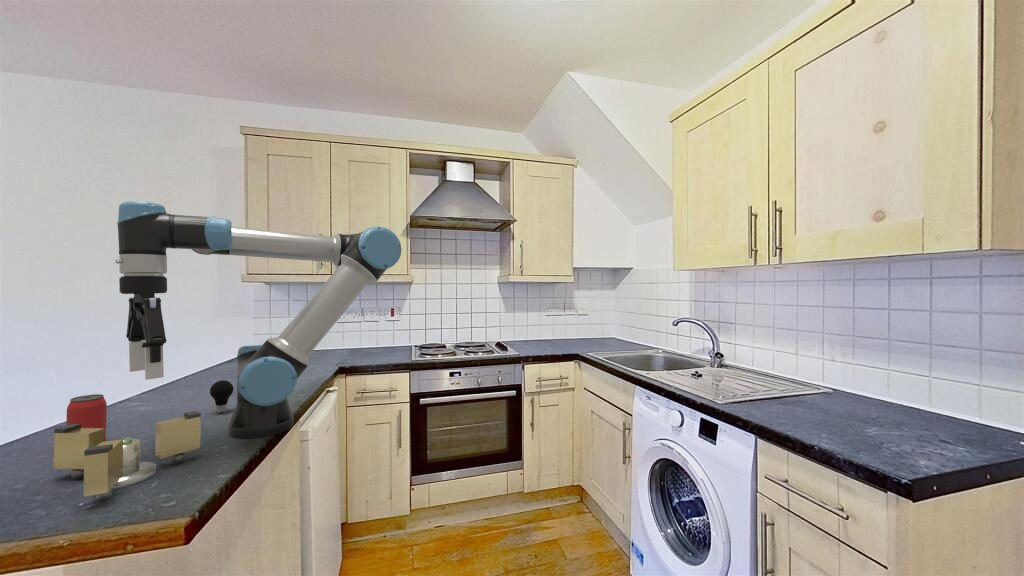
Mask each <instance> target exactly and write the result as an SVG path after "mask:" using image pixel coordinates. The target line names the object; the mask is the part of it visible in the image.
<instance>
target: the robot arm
mask: <svg viewBox="0 0 1024 576" xmlns="http://www.w3.org/2000/svg"><path fill="white" fill-rule="evenodd" d="M167 212H168V211H166V207H165V206H164V205H162V204H161V203H155V202H148V201H142V200H141V201H139V200H137V201H135V200H128V201H124V202H122V203H120V204H119V205H118V219H117V222H116V223H117V237H118V256H119V258H116V259H115V260H114V261H115V264H118V265H119V273H120V274H122V275H123V276H120V277H119V280H118V281H119V293H120V294H122V295H133V297H129V298H128V305H129V306H128V317H127V326H126V327H127V328H126V335H125V337H126V338H127V340H128V353H129V356H128V359H129V361H128V362H129V373H132V372H138V371H139V372H140V371H144V373H145V375H144V376H145V377H144V378H145V379H144V380H146V381H147V380H153V379H154V380H155V379H161V378H165V377H164V375H165V374H164V344H166V343H167V337H166V331H165V330H166V329H165V325H164V324H165V323H164V319H163V313H162V305H161V304H162V299H161V298H160V297H156V296H155V295H156V294H166V293H167V292H168V277H166V276H164V275H165V274H167V273H168V258H167V257H168V256H167V249H172V250H173V249H177V250H179V249H180V250H181V249H182V250H191V251H193V252H195V253H196V254H199V255H203V256H204V255H206V256H210V255H223V256H239V257H240V256H241V257H255V258H269V259H282V260H294V261H296V260H297V261H310V262H324V263H332V265H334V266H335V267H337V269H336V270H335V271H334V272H333V274H331V276H330V277H329V278H328V279H327V280H326V281H325V283H324V284H323V285H321V287H320V288H319V289H318V290H317V292H316V293H315V294H314V295H313V296H312V297H311V299H310V300H309V301H308V302H307V303H306V304H305V305H304V306H303V308H302V309H301V310H300V311H299V312H298V313H297V314H296V316H295V317H294V318H293V319H292V320H291V321H290V323H288V325H287V326H286V327H285V328H284V329H283V331H282V332H281V333H280V334H279V335H278V336H276V337H269V338H267V339H266V341H264V343H263V344H258V345H255V344H254V345H253V344H252V345H242V346H241V347H239V348H238V350H237V355H236V360H237V372H236V373H237V376H236V377H237V378H236V379H237V380H236V384H237V385H236V406H235V408H234V410H233V413H232V416H231V418H230V420H229V421H230V422H229V424H228V434H227V435H228V436H229V437H231V438H234V439H257V438H258V439H259V438H263V437H269V436H274V435H277V434H281V433H283V432H285V431H288V430H290V429H291V428H293V426H294V424H295V423H294V422H295V417H294V414H293V410H292V408H291V405H290V402H289V400H288V398H289V396H291V394H292V393H293V391H294V390H295V388H296V387H297V383H298V379H299V378H300V377H301V375H302V374H303V373H304V371H306V369H307V368H308V367H309V365H310V362H309V356H310V354H311V353H312V352H313V351H314V350H315V349H316V347H317V346H318V345H319V344H320V343H321V341H322V340H323V339H324V338H325V336H326V335H327V334H328V333H329V331H330V330H331V329H332V328H333V326H334V325H335V324H336V323H337V322H338V320H339V319H340V318H341V316H343V315H344V313H345V312H346V311H347V309H348V308H349V307H350V306H351V304H353V302H354V301H355V300H356V299H357V297H358V296H359V295H360V294H361V293H362V292H363V290H364V288H365V287H366V286H367V285H369V284H374V283H377V282H378V280H379V279H380V278H381V277H382V275H383V274H385V272H386V271H387V269H390V268H392V267H393V266H395V265H396V263H398V262H399V260H400V259H401V256H402V243H401V241H400V239H399V238H398V236H397V235H396V233H395V232H393V231H392V230H391V229H389V228H388V227H387V228H386V227H383V226H371V227H368V228H366V229H365V230H364V231H361V232H358V233H352V234H342V233H336V234H335V235H333V236H327V235H326V236H325V235H316V234H310V233H309V234H308V233H300V232H296V233H295V232H288V231H287V232H286V231H278V230H277V231H276V230H269V229H268V230H266V229H259V228H249V227H238V226H232V221H231V220H230V219H229V218H225V217H216V216H199V215H184V214H183V215H181V214H180V215H179V214H171V213H167Z"/></svg>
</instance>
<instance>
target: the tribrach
mask: <svg viewBox="0 0 1024 576" xmlns="http://www.w3.org/2000/svg"><path fill="white" fill-rule="evenodd" d="M122 439H123V476H122V477H121V478H120V480H119V481H118V482H117V483H116V484H115V485H114V486H113V487H112V488H111V489H110V490H109V491H108V493H103V494H97V495H95V502H96V503H103V502H106V501H107V502H108V501H110V500H111V499H112V497H113V496H112V495H113V493H112V492H113V490H118V489H123V488H126V487H129V486H133V485H136V484H140V483H141V482H144V481H147V480H149V479H150V478H151V477H153V476H154V475H156V473H157V464H156V463H154V462H151V461H150V462H149V461H141V439H139V438H133V437H130V436H127V437H119V438H117V439H116V440H122ZM171 458H172V460H171V463H172V465H179V464H180V465H181V464H182V463H184V462H185V452H183V453H179V454H176V455H172V456H171ZM82 479H84V469H71V480H72V481H77V480H82Z"/></svg>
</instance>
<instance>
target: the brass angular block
mask: <svg viewBox="0 0 1024 576" xmlns="http://www.w3.org/2000/svg"><path fill="white" fill-rule="evenodd" d="M122 476H123V439H122V440H117V439H114V440H106V442H101V443H100V444H99V445H97V446H94V447H89V448H88V449H86V450H85V451H84V478H83V497H90V496H96V495H97V494H103V493H108V491H109V490H110V489H111V488H112V487H113V486H114V485H115V484H116V483H117V482H118V481H119V480H120V478H121V477H122Z"/></svg>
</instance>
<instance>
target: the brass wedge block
mask: <svg viewBox="0 0 1024 576" xmlns="http://www.w3.org/2000/svg"><path fill="white" fill-rule="evenodd" d="M53 431H54V435H53V437H54V438H53V469H55V470H57V469H59V470H64V469H65V470H72V469H84V451H85V450H86V449H88V448H89V447H94V446H97V445H99V444H100V443H101V442H104V435H105V429H103V428H81V424H70V425H64V426H61V427H56V428H54V430H53Z"/></svg>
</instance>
